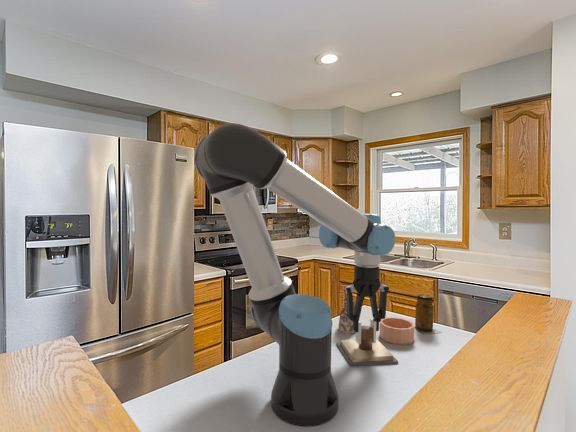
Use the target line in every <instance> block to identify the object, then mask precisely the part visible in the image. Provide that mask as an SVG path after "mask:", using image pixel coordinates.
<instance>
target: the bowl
mask: <svg viewBox="0 0 576 432" xmlns="http://www.w3.org/2000/svg"><path fill="white" fill-rule="evenodd" d="M414 325H415V322H412V321H411V320H408V319H405V318H401V317H396V316H395V317H394V316H393V317H385V319H381V321H380V322H379V337H380V339H382V340H383V341H385V342H387V343H389V344H394V345H403V346H404V345H410V344H412V343H414V341H415V328H414Z"/></svg>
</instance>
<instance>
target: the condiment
mask: <svg viewBox="0 0 576 432" xmlns="http://www.w3.org/2000/svg"><path fill="white" fill-rule="evenodd" d="M433 299H434V298H433V296H432V295H428V294H417V296H416V302H415V315H414V317H415V321H414V330H417V331H419V332H420V333H422V334H425V335H427V334H429V335H430V334H440V333H442V331H440V330H438V329H437V328H434V310H435V309H434V308H435V307H434V306H435V305H434V303H433V302H434V301H433Z"/></svg>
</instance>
